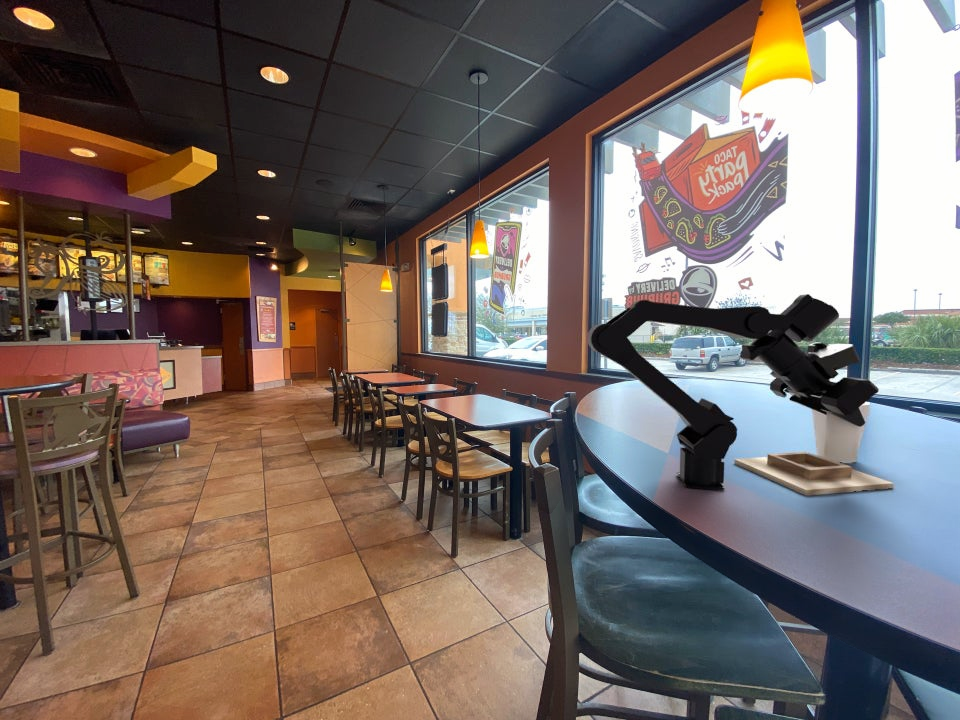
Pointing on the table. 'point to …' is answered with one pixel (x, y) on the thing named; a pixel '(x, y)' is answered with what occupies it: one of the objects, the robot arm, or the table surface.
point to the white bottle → (841, 439)
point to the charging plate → (812, 473)
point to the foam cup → (820, 430)
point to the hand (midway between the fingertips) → (851, 421)
